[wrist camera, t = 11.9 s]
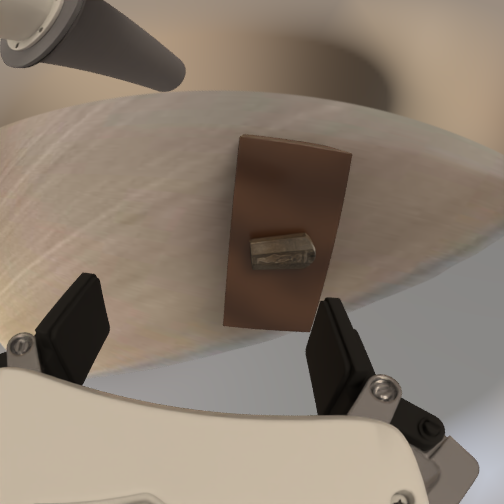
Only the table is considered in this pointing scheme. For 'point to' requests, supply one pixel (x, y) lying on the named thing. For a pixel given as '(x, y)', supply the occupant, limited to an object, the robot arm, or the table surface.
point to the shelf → (282, 229)
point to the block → (282, 252)
